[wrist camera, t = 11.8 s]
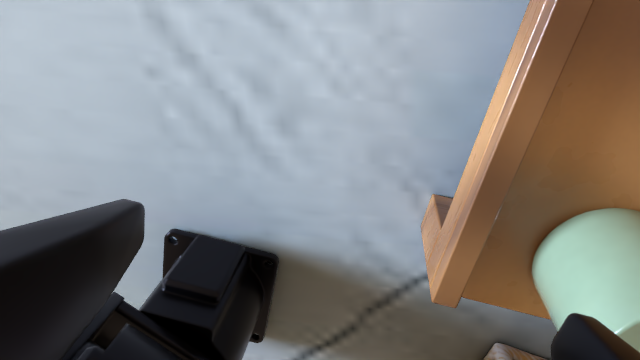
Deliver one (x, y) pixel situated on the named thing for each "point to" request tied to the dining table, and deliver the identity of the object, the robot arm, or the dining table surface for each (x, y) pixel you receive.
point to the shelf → (542, 152)
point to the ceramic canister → (593, 270)
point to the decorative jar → (509, 353)
